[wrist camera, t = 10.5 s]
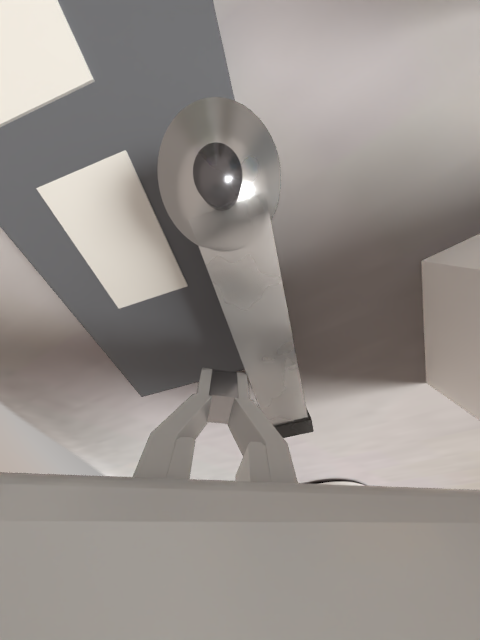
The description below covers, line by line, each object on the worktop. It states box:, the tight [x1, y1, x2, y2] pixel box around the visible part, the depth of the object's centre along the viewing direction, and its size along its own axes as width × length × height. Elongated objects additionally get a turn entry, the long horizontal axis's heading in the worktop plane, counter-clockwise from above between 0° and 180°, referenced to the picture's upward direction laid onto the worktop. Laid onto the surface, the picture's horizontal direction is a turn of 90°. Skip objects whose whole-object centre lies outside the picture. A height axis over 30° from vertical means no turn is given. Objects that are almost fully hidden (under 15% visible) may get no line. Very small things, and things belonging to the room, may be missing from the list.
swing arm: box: [157, 97, 313, 438], centre depth 8 cm, size 15×4×4 cm, turn 17°
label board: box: [0, 0, 245, 397], centre depth 9 cm, size 22×12×1 cm, turn 17°
